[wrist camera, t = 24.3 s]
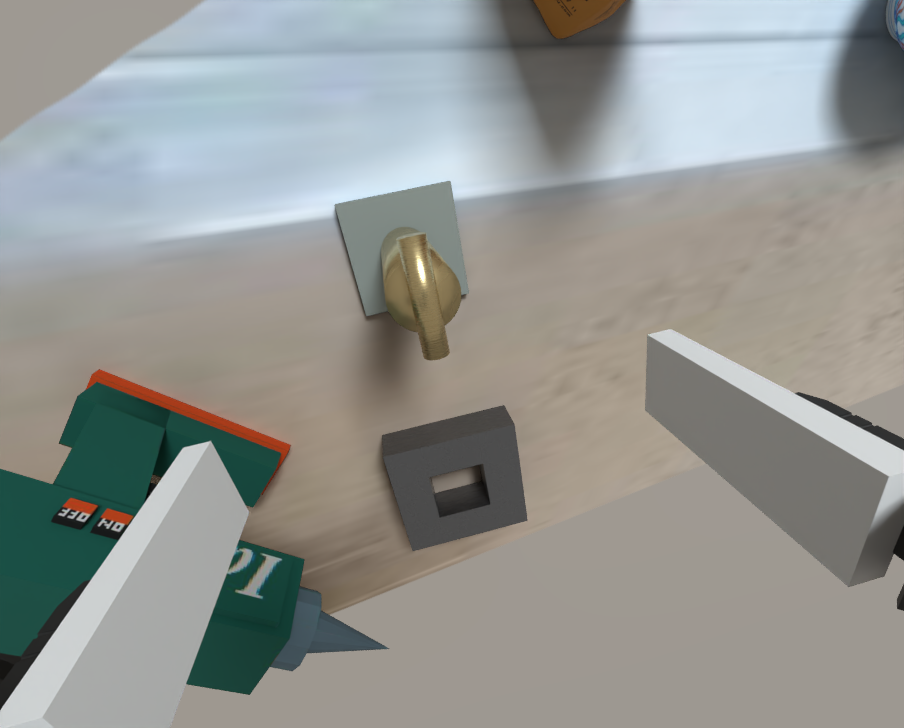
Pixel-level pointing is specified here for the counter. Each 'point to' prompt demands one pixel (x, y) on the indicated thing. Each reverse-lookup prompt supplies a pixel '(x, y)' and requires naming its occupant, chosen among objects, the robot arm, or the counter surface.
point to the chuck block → (449, 450)
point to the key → (419, 288)
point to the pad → (387, 212)
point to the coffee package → (575, 14)
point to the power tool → (115, 506)
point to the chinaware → (896, 20)
